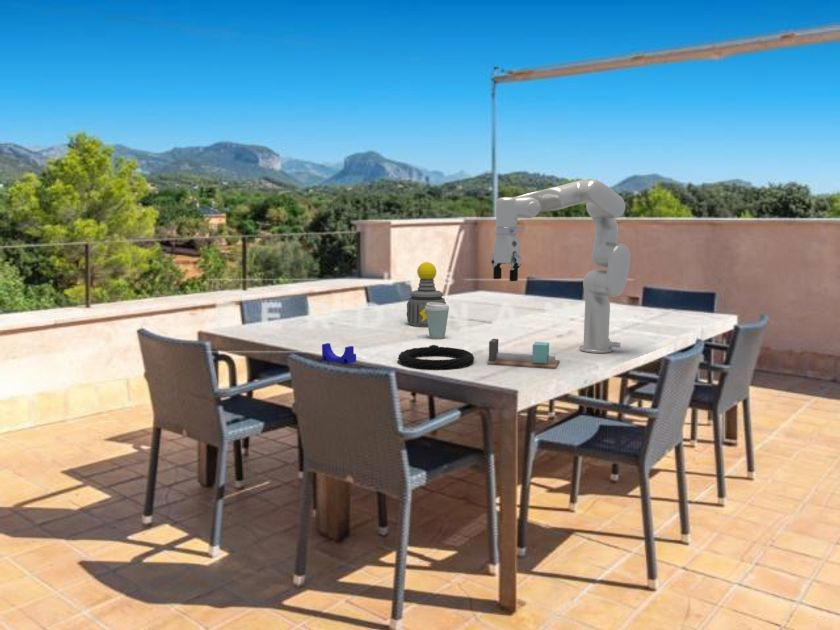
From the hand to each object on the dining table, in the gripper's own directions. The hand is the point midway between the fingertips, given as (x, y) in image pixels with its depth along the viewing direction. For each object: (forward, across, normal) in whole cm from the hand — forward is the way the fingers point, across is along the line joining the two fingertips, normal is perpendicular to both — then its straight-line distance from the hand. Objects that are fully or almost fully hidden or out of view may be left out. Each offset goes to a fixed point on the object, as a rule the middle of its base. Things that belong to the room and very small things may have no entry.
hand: (505, 279), depth 266 cm
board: (+29, -9, -2) cm, 31 cm away
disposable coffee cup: (+30, +52, -3) cm, 60 cm away
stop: (+29, -1, +5) cm, 30 cm away
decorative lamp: (+30, +87, -19) cm, 94 cm away
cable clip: (+30, +27, +53) cm, 67 cm away
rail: (+29, -9, -2) cm, 31 cm away
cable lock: (+30, +10, +23) cm, 39 cm away
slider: (+28, -13, -6) cm, 32 cm away
